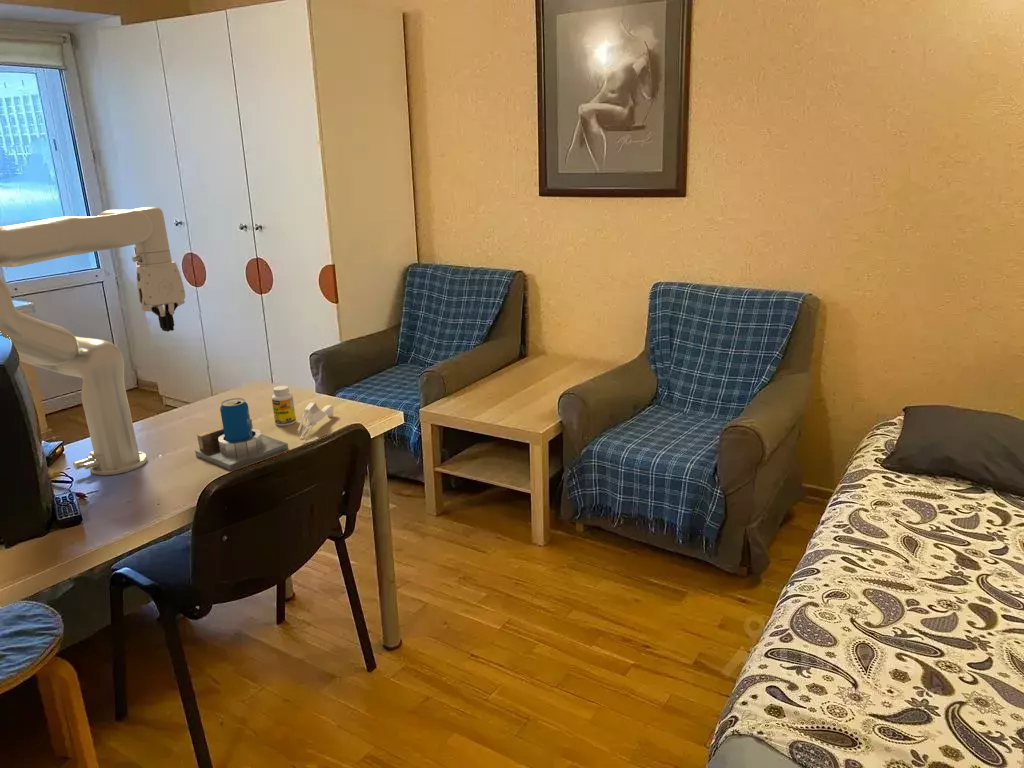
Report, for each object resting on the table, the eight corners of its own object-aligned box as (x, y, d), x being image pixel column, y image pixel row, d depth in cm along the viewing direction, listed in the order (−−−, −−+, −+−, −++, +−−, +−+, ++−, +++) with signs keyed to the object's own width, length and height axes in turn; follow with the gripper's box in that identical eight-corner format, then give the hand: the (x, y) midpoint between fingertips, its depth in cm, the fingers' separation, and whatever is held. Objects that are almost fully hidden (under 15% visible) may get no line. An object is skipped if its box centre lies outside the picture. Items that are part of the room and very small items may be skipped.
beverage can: (248, 451, 189) (241, 405, 186) (222, 452, 190) (214, 406, 186) (258, 442, 196) (250, 397, 192) (232, 442, 196) (225, 397, 192)
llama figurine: (313, 458, 204) (335, 412, 217) (300, 427, 197) (325, 381, 210) (307, 458, 204) (329, 412, 218) (294, 427, 197) (318, 381, 210)
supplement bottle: (272, 426, 210) (266, 391, 207) (279, 419, 215) (274, 384, 212) (291, 426, 210) (286, 390, 207) (299, 419, 215) (294, 384, 212)
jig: (231, 470, 182) (227, 449, 181) (196, 456, 192) (192, 435, 191) (288, 449, 194) (285, 428, 192) (252, 436, 204) (249, 416, 202)
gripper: (131, 263, 184) (146, 338, 189) (190, 254, 195) (203, 326, 200) (117, 261, 189) (132, 335, 194) (175, 253, 199) (188, 322, 205)
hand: (168, 330), depth 197 cm, fingers closed
